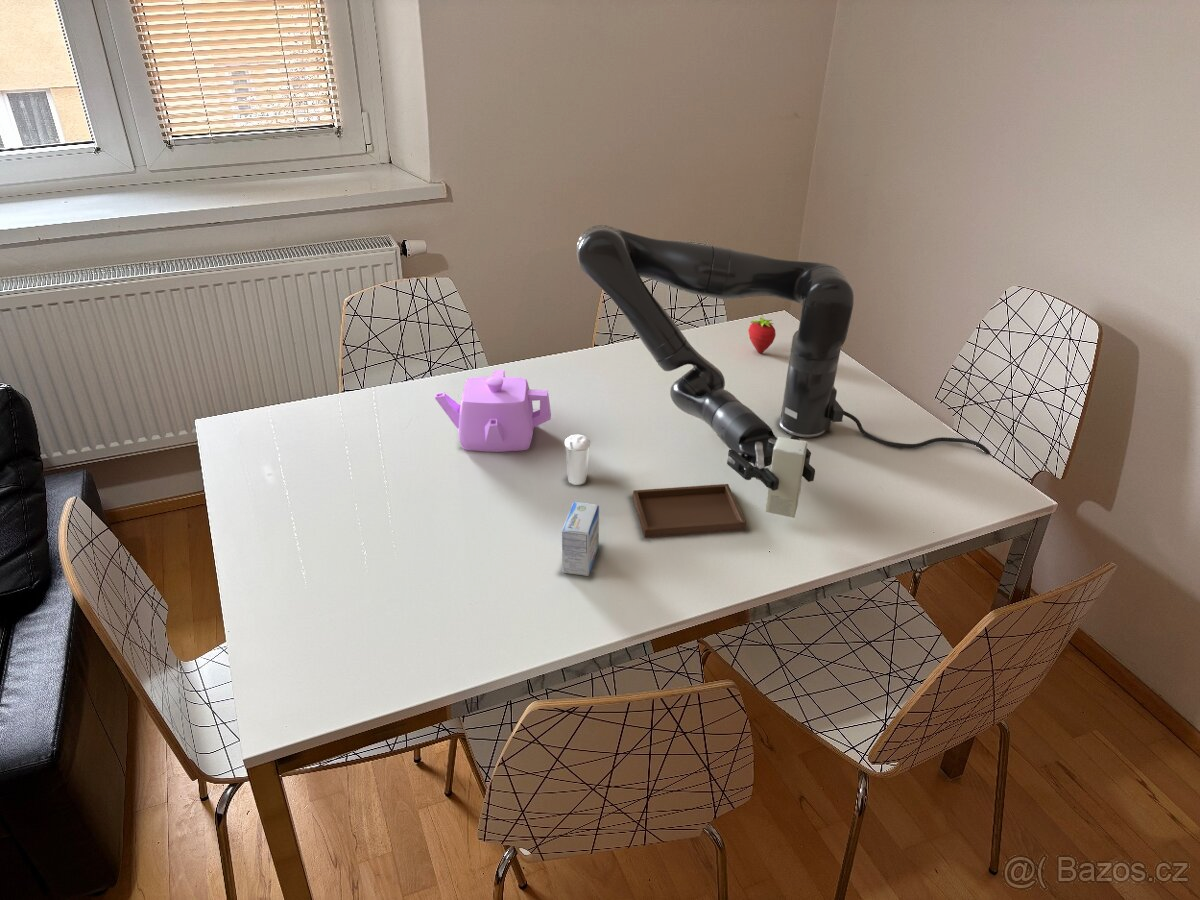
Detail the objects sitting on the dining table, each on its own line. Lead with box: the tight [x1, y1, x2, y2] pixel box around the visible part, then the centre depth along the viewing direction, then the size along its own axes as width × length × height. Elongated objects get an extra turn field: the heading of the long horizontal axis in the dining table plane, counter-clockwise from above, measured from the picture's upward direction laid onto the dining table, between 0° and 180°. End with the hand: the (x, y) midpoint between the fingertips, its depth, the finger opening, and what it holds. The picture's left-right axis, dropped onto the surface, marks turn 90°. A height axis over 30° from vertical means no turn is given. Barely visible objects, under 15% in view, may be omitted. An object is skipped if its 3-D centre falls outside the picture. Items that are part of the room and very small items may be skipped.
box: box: [764, 436, 808, 518], centre depth 145 cm, size 5×4×13 cm
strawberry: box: [748, 313, 777, 355], centre depth 203 cm, size 6×8×10 cm
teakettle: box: [434, 369, 552, 453], centre depth 169 cm, size 17×17×12 cm
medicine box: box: [560, 501, 600, 577], centre depth 139 cm, size 8×4×9 cm, turn 168°
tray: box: [632, 483, 747, 539], centre depth 152 cm, size 17×11×2 cm, turn 98°
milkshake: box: [564, 434, 591, 486], centre depth 157 cm, size 4×5×10 cm
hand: (794, 481), depth 143 cm, fingers closed on box, 6 cm apart
